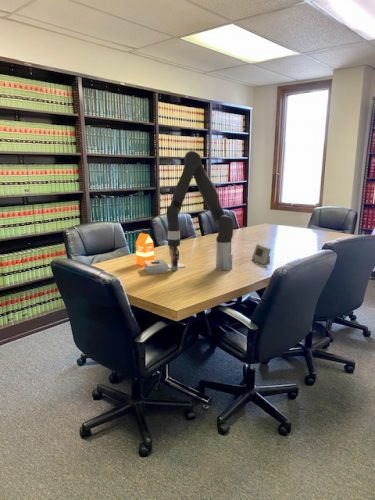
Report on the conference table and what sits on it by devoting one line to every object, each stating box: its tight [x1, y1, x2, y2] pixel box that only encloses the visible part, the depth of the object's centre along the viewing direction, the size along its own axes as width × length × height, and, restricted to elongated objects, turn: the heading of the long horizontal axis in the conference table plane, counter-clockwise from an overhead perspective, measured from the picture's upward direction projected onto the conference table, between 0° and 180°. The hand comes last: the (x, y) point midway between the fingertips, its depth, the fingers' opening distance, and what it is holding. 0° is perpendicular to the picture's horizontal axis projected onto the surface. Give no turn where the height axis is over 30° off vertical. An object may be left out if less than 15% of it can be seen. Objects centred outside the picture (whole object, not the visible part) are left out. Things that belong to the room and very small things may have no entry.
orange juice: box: [135, 232, 155, 266], centre depth 239 cm, size 8×9×20 cm
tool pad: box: [167, 262, 186, 270], centre depth 234 cm, size 10×8×1 cm
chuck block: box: [143, 259, 169, 275], centre depth 225 cm, size 12×12×5 cm
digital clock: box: [252, 243, 271, 265], centre depth 243 cm, size 16×9×11 cm, turn 7°
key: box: [169, 251, 178, 272], centre depth 224 cm, size 4×4×11 cm
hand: (174, 264), depth 225 cm, fingers open, 6 cm apart
